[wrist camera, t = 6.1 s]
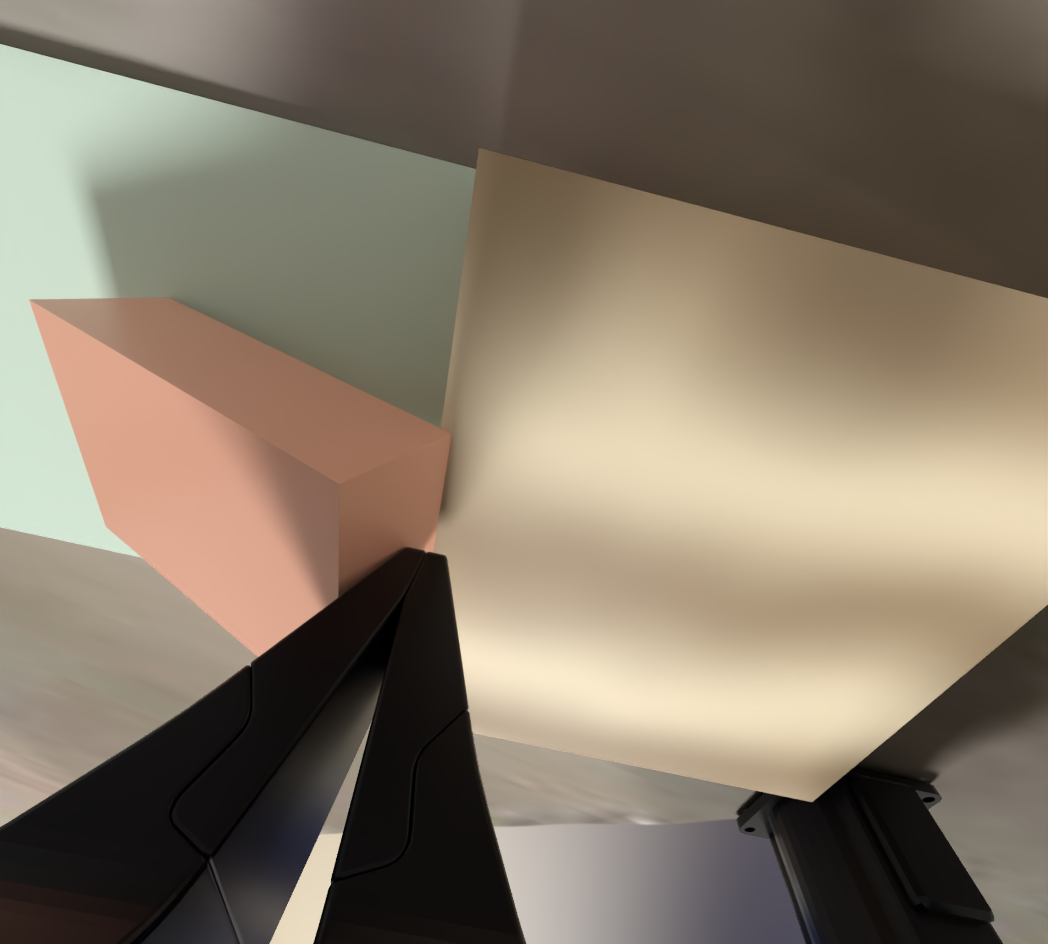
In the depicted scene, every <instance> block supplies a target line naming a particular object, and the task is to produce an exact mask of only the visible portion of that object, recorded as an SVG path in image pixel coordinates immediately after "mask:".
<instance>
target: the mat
mask: <svg viewBox="0 0 1048 944" xmlns="http://www.w3.org/2000/svg"><path fill="white" fill-rule="evenodd" d="M475 173H476V169H474V168H470V167H466V166H462V165H459V164H455V163H451V162H447V161H443V160H440V159H436V158H432V157H428V156H424V155H421V154H417V153H413V152H409V151H405V150H401V149H398V148H394V147H390V146H386V145H382V144H379V143H375V142H371V141H367V140H363V139H360V138H356V137H352V136H348V135H344V134H341V133H337V132H333V131H329V130H325V129H322V128H318V127H314V126H310V125H306V124H303V123H299V122H295V121H291V120H287V119H284V118H280V117H276V116H272V115H268V114H265V113H261V112H257V111H253V110H249V109H246V108H242V107H238V106H234V105H230V104H227V103H223V102H219V101H215V100H211V99H208V98H204V97H200V96H196V95H192V94H189V93H185V92H181V91H177V90H173V89H169V88H166V87H162V86H158V85H154V84H150V83H147V82H143V81H139V80H135V79H131V78H128V77H124V76H120V75H116V74H112V73H109V72H105V71H101V70H97V69H93V68H90V67H86V66H82V65H78V64H74V63H71V62H67V61H63V60H59V59H55V58H52V57H48V56H44V55H40V54H36V53H33V52H29V51H25V50H21V49H17V48H14V47H10V46H6V45H2V44H0V527H2V528H7V529H11V530H16V531H21V532H25V533H30V534H35V535H39V536H44V537H48V538H53V539H58V540H62V541H67V542H72V543H76V544H81V545H86V546H90V547H95V548H100V549H104V550H109V551H114V552H118V553H123V554H128V555H132V556H137V557H141V556H139V555H138V554H137V553H136V552H135V551H134V550H132V549H131V548H130V547H129V546H128V545H127V544H125V543H124V542H123V541H122V540H121V539H120V538H118V537H117V536H116V535H115V534H114V533H112V532H111V531H110V530H109V529H108V528H107V527H106V526H105V523H104V520H103V517H102V514H101V511H100V508H99V505H98V502H97V499H96V496H95V494H94V491H93V488H92V485H91V482H90V479H89V476H88V473H87V470H86V467H85V464H84V461H83V458H82V455H81V452H80V449H79V446H78V443H77V440H76V437H75V434H74V431H73V428H72V426H71V423H70V420H69V417H68V414H67V411H66V408H65V405H64V402H63V399H62V396H61V393H60V390H59V387H58V384H57V381H56V378H55V375H54V372H53V369H52V366H51V363H50V360H49V358H48V355H47V352H46V349H45V346H44V343H43V340H42V337H41V334H40V331H39V328H38V325H37V322H36V319H35V316H34V313H33V310H32V307H31V304H30V301H29V299H91V298H158V297H169V298H171V299H173V300H175V301H177V302H179V303H181V304H183V305H186V306H188V307H190V308H192V309H194V310H196V311H198V312H200V313H202V314H204V315H206V316H208V317H210V318H213V319H215V320H217V321H219V322H221V323H223V324H225V325H227V326H229V327H231V328H233V329H235V330H237V331H239V332H242V333H244V334H246V335H248V336H250V337H252V338H254V339H256V340H258V341H260V342H262V343H264V344H266V345H269V346H271V347H273V348H275V349H277V350H279V351H281V352H283V353H285V354H287V355H289V356H291V357H293V358H295V359H298V360H300V361H302V362H304V363H306V364H308V365H310V366H312V367H314V368H316V369H318V370H320V371H322V372H324V373H327V374H329V375H331V376H333V377H335V378H337V379H339V380H341V381H343V382H345V383H347V384H349V385H351V386H354V387H356V388H358V389H360V390H362V391H364V392H366V393H368V394H370V395H372V396H374V397H376V398H378V399H380V400H383V401H385V402H387V403H389V404H391V405H393V406H395V407H397V408H399V409H401V410H403V411H405V412H407V413H410V414H412V415H414V416H416V417H418V418H420V419H422V420H424V421H426V422H428V423H430V424H432V425H434V426H436V427H439V428H441V422H442V415H443V408H444V400H445V393H446V386H447V378H448V371H449V364H450V356H451V349H452V342H453V334H454V327H455V320H456V312H457V305H458V298H459V290H460V283H461V276H462V268H463V261H464V254H465V246H466V239H467V232H468V224H469V217H470V210H471V202H472V195H473V188H474V180H475ZM141 558H142V557H141Z"/></svg>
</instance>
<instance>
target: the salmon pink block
mask: <svg viewBox="0 0 1048 944" xmlns="http://www.w3.org/2000/svg"><path fill="white" fill-rule="evenodd" d="M29 301H30V304H31V307H32V310H33V313H34V316H35V319H36V322H37V325H38V328H39V331H40V334H41V337H42V340H43V343H44V346H45V349H46V352H47V355H48V358H49V360H50V363H51V366H52V369H53V372H54V375H55V378H56V381H57V384H58V387H59V390H60V393H61V396H62V399H63V402H64V405H65V408H66V411H67V414H68V417H69V420H70V423H71V426H72V428H73V431H74V434H75V437H76V440H77V443H78V446H79V449H80V452H81V455H82V458H83V461H84V464H85V467H86V470H87V473H88V476H89V479H90V482H91V485H92V488H93V491H94V494H95V496H96V499H97V502H98V505H99V508H100V511H101V514H102V517H103V520H104V523H105V526H106V527H107V528H108V529H109V530H110V531H111V532H112V533H114V534H115V535H116V536H117V537H118V538H120V539H121V540H122V541H123V542H124V543H125V544H127V545H128V546H129V547H130V548H131V549H132V550H134V551H135V552H136V553H137V554H138V555H139V556H141V557H142V558H143V559H144V560H145V561H146V562H148V563H149V564H150V565H151V566H152V567H153V568H155V569H156V570H157V571H158V572H159V573H160V574H162V575H163V576H164V577H165V578H166V579H167V580H169V581H170V582H171V583H172V584H173V585H174V586H176V587H177V588H178V589H179V590H180V591H181V592H183V593H184V594H185V595H186V596H187V597H188V598H190V599H191V600H192V601H193V602H194V603H195V604H197V605H198V606H199V607H200V608H201V609H202V610H204V611H205V612H206V613H207V614H208V615H209V616H211V617H212V618H213V619H214V620H215V621H216V622H218V623H219V624H220V625H221V626H222V627H223V628H225V629H226V630H227V631H228V632H229V633H230V634H232V635H233V636H234V637H235V638H236V639H237V640H239V641H240V642H241V643H242V644H243V645H244V646H246V647H247V648H248V649H249V650H250V651H251V652H253V653H254V654H255V655H256V656H257V657H259V656H260V655H262V654H263V653H264V652H266V651H267V650H268V649H270V648H271V647H272V646H274V645H275V644H276V643H278V642H279V641H280V640H282V639H283V638H284V637H286V636H287V635H288V634H290V633H291V632H293V631H294V630H295V629H297V628H298V627H299V626H301V625H302V624H303V623H305V622H306V621H307V620H309V619H310V618H311V617H313V616H314V615H315V614H317V613H318V612H319V611H321V610H322V609H323V608H325V607H326V606H327V605H329V604H330V603H331V602H333V601H334V600H335V599H337V598H338V597H339V596H341V595H342V594H344V593H345V592H346V591H348V590H349V589H350V588H352V587H353V586H354V585H356V584H357V583H358V582H360V581H361V580H362V579H364V578H365V577H366V576H368V575H369V574H370V573H372V572H373V571H374V570H376V569H377V568H378V567H380V566H381V565H382V564H384V563H385V562H386V561H388V560H389V559H391V558H392V557H393V556H395V555H396V554H397V553H399V552H400V551H401V550H403V549H404V548H406V547H411V548H416V549H420V550H424V551H426V553H427V552H434V545H435V539H436V532H437V525H438V519H439V512H440V506H441V499H442V493H443V486H444V480H445V473H446V467H447V460H448V454H449V447H450V441H451V433H449V432H447V431H445V430H443V429H441V428H439V427H436V426H434V425H432V424H430V423H428V422H426V421H424V420H422V419H420V418H418V417H416V416H414V415H412V414H410V413H407V412H405V411H403V410H401V409H399V408H397V407H395V406H393V405H391V404H389V403H387V402H385V401H383V400H380V399H378V398H376V397H374V396H372V395H370V394H368V393H366V392H364V391H362V390H360V389H358V388H356V387H354V386H351V385H349V384H347V383H345V382H343V381H341V380H339V379H337V378H335V377H333V376H331V375H329V374H327V373H324V372H322V371H320V370H318V369H316V368H314V367H312V366H310V365H308V364H306V363H304V362H302V361H300V360H298V359H295V358H293V357H291V356H289V355H287V354H285V353H283V352H281V351H279V350H277V349H275V348H273V347H271V346H269V345H266V344H264V343H262V342H260V341H258V340H256V339H254V338H252V337H250V336H248V335H246V334H244V333H242V332H239V331H237V330H235V329H233V328H231V327H229V326H227V325H225V324H223V323H221V322H219V321H217V320H215V319H213V318H210V317H208V316H206V315H204V314H202V313H200V312H198V311H196V310H194V309H192V308H190V307H188V306H186V305H183V304H181V303H179V302H177V301H175V300H173V299H171V298H169V297H158V298H91V299H29Z"/></svg>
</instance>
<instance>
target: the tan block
mask: <svg viewBox="0 0 1048 944" xmlns="http://www.w3.org/2000/svg"><path fill="white" fill-rule="evenodd" d="M441 429H443V430H445V431H447V432H449V433H451V441H450V447H449V454H448V460H447V467H446V473H445V480H444V486H443V493H442V499H441V506H440V512H439V519H438V525H437V532H436V539H435V545H434V553H438V554H443V555H445V556H446V557H447V560H448V567H449V574H450V581H451V587H452V594H453V601H454V608H455V615H456V622H457V629H458V636H459V643H460V650H461V657H462V664H463V671H464V678H465V685H466V692H467V699H468V706H469V709H468V711H469V712H470V718H471V725H472V732H473V733H476V734H481V735H486V736H490V737H495V738H500V739H505V740H510V741H515V742H520V743H525V744H530V745H535V746H539V747H544V748H549V749H554V750H559V751H564V752H569V753H574V754H579V755H584V756H588V757H593V758H598V759H603V760H608V761H613V762H618V763H623V764H628V765H632V766H637V767H642V768H647V769H652V770H657V771H662V772H667V773H672V774H677V775H681V776H686V777H691V778H696V779H701V780H706V781H711V782H716V783H721V784H726V785H730V786H735V787H740V788H745V789H750V790H755V791H760V792H765V793H770V794H774V795H779V796H784V797H789V798H794V799H799V800H804V801H809V802H813V801H814V800H815V799H817V798H818V797H819V796H820V795H821V794H822V793H824V792H825V791H826V790H827V789H828V788H830V787H831V786H832V785H833V784H834V783H836V782H837V781H838V780H839V779H840V778H842V777H843V776H844V775H845V774H846V773H848V772H849V771H850V770H851V769H852V768H853V767H855V766H856V765H857V764H858V763H859V762H861V761H862V760H863V759H864V758H865V757H867V756H868V755H869V754H870V753H871V752H873V751H874V750H875V749H876V748H877V747H879V746H880V745H881V744H882V743H883V742H884V741H886V740H887V739H888V738H889V737H890V736H892V735H893V734H894V733H895V732H896V731H898V730H899V729H900V728H901V727H902V726H904V725H905V724H906V723H907V722H908V721H910V720H911V719H912V718H913V717H914V716H915V715H917V714H918V713H919V712H920V711H921V710H923V709H924V708H925V707H926V706H927V705H929V704H930V703H931V702H932V701H933V700H935V699H936V698H937V697H938V696H939V695H941V694H942V693H943V692H944V691H945V690H946V689H948V688H949V687H950V686H951V685H952V684H954V683H955V682H956V681H957V680H958V679H960V678H961V677H962V676H963V675H964V674H966V673H967V672H968V671H969V670H970V669H972V668H973V667H974V666H975V665H976V664H977V663H979V662H980V661H981V660H982V659H983V658H985V657H986V656H987V655H988V654H989V653H991V652H992V651H993V650H994V649H995V648H997V647H998V646H999V645H1000V644H1001V643H1003V642H1004V641H1005V640H1006V639H1007V638H1008V637H1010V636H1011V635H1012V634H1013V633H1014V632H1016V631H1017V630H1018V629H1019V628H1020V627H1022V626H1023V625H1024V624H1025V623H1026V622H1028V621H1029V620H1030V619H1031V618H1032V617H1034V616H1035V615H1036V614H1037V613H1038V612H1039V611H1041V610H1042V609H1043V608H1044V607H1045V606H1047V605H1048V298H1044V297H1041V296H1037V295H1033V294H1029V293H1026V292H1022V291H1018V290H1014V289H1011V288H1007V287H1003V286H999V285H995V284H992V283H988V282H984V281H980V280H977V279H973V278H969V277H965V276H962V275H958V274H954V273H950V272H946V271H943V270H939V269H935V268H931V267H928V266H924V265H920V264H916V263H913V262H909V261H905V260H901V259H897V258H894V257H890V256H886V255H882V254H879V253H875V252H871V251H867V250H863V249H860V248H856V247H852V246H848V245H845V244H841V243H837V242H833V241H830V240H826V239H822V238H818V237H814V236H811V235H807V234H803V233H799V232H796V231H792V230H788V229H784V228H781V227H777V226H773V225H769V224H765V223H762V222H758V221H754V220H750V219H747V218H743V217H739V216H735V215H732V214H728V213H724V212H720V211H716V210H713V209H709V208H705V207H701V206H698V205H694V204H690V203H686V202H683V201H679V200H675V199H671V198H667V197H664V196H660V195H656V194H652V193H649V192H645V191H641V190H637V189H634V188H630V187H626V186H622V185H618V184H615V183H611V182H607V181H603V180H600V179H596V178H592V177H588V176H585V175H581V174H577V173H573V172H569V171H566V170H562V169H558V168H554V167H551V166H547V165H543V164H539V163H536V162H532V161H528V160H524V159H520V158H517V157H513V156H509V155H505V154H502V153H498V152H494V151H490V150H487V149H483V148H479V151H478V158H477V166H476V173H475V180H474V188H473V195H472V202H471V210H470V217H469V224H468V232H467V239H466V246H465V254H464V261H463V268H462V276H461V283H460V290H459V298H458V305H457V312H456V320H455V327H454V334H453V342H452V349H451V356H450V364H449V371H448V378H447V386H446V393H445V400H444V408H443V415H442V422H441Z"/></svg>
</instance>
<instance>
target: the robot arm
mask: <svg viewBox="0 0 1048 944" xmlns="http://www.w3.org/2000/svg"><path fill="white" fill-rule="evenodd" d="M468 709H469V706H468V699H467V692H466V685H465V678H464V671H463V664H462V657H461V650H460V643H459V636H458V629H457V622H456V615H455V608H454V601H453V594H452V587H451V581H450V574H449V567H448V560H447V557H446V556H445V555H443V554H438V553H434V552H427V553H426V551H424V550H420V549H416V548H411V547H406V548H404V549H403V550H401V551H400V552H399V553H397V554H396V555H395V556H393V557H392V558H391V559H389V560H388V561H386V562H385V563H384V564H382V565H381V566H380V567H378V568H377V569H376V570H374V571H373V572H372V573H370V574H369V575H368V576H366V577H365V578H364V579H362V580H361V581H360V582H358V583H357V584H356V585H354V586H353V587H352V588H350V589H349V590H348V591H346V592H345V593H344V594H342V595H341V596H339V597H338V598H337V599H335V600H334V601H333V602H331V603H330V604H329V605H327V606H326V607H325V608H323V609H322V610H321V611H319V612H318V613H317V614H315V615H314V616H313V617H311V618H310V619H309V620H307V621H306V622H305V623H303V624H302V625H301V626H299V627H298V628H297V629H295V630H294V631H293V632H291V633H290V634H288V635H287V636H286V637H284V638H283V639H282V640H280V641H279V642H278V643H276V644H275V645H274V646H272V647H271V648H270V649H268V650H267V651H266V652H264V653H263V654H262V655H260V656H259V657H258V658H256V659H255V660H254V661H252V662H251V667H250V666H248V665H247V666H245V667H244V668H242V669H241V670H240V671H238V672H237V673H236V674H234V675H233V676H232V677H230V678H229V679H228V680H226V681H225V682H224V683H222V684H221V685H219V686H218V687H217V688H215V689H214V690H212V691H211V692H210V693H208V694H207V695H205V696H204V697H203V698H201V699H200V700H198V701H197V702H196V703H194V704H193V705H191V706H190V707H189V708H187V709H186V710H184V711H183V712H181V713H180V714H178V715H177V716H175V717H174V718H172V719H170V720H169V721H167V722H166V723H164V724H163V725H161V726H160V727H158V728H157V729H155V730H154V731H152V732H151V733H149V734H148V735H146V736H144V737H143V738H141V739H140V740H138V741H137V742H135V743H134V744H132V745H130V746H129V747H127V748H126V749H124V750H122V751H121V752H119V753H118V754H116V755H115V756H113V757H111V758H110V759H108V760H107V761H105V762H103V763H102V764H100V765H99V766H97V767H95V768H94V769H92V770H91V771H89V772H88V773H86V774H84V775H83V776H81V777H80V778H78V779H76V780H75V781H73V782H72V783H70V784H68V785H67V786H65V787H64V788H62V789H61V790H59V791H57V792H56V793H54V794H53V795H51V796H49V797H48V798H46V799H45V800H43V801H41V802H40V803H38V804H37V805H35V806H34V807H32V808H30V809H29V810H27V811H26V812H24V813H22V814H21V815H19V816H18V817H16V818H14V819H13V820H11V821H10V822H8V823H6V824H5V825H3V826H1V827H0V944H269V943H270V941H271V939H272V937H273V935H274V932H275V930H276V928H277V926H278V924H279V921H280V919H281V917H282V915H283V913H284V911H285V908H286V906H287V904H288V902H289V900H290V897H291V895H292V893H293V891H294V889H295V887H296V884H297V882H298V880H299V878H300V876H301V873H302V871H303V869H304V867H305V865H306V862H307V860H308V858H309V856H310V854H311V852H312V849H313V847H314V845H315V843H316V841H317V838H318V836H319V834H320V832H321V830H322V828H323V825H324V823H325V821H326V819H327V817H328V814H329V812H330V810H331V808H332V806H333V803H334V801H335V799H336V797H337V795H338V793H339V790H340V788H341V786H342V784H343V782H344V779H345V777H346V775H347V773H348V771H349V769H350V766H351V764H352V762H353V760H354V758H355V755H356V753H357V751H358V749H359V747H360V744H361V742H362V740H363V738H364V736H365V734H366V731H367V729H368V727H369V725H370V723H371V720H372V723H371V727H370V730H369V734H368V738H367V742H366V746H365V750H364V754H363V757H362V761H361V765H360V769H359V773H358V777H357V781H356V784H355V788H354V792H353V796H352V800H351V804H350V808H349V812H348V815H347V819H346V823H345V827H344V831H343V835H342V839H341V843H340V846H339V850H338V854H337V858H336V862H335V866H334V870H333V873H332V878H331V885H330V887H329V889H328V893H327V897H326V900H325V904H324V908H323V912H322V915H321V919H320V923H319V926H318V930H317V933H316V937H315V940H314V943H313V944H526V941H525V938H524V935H523V932H522V929H521V925H520V922H519V918H518V915H517V912H516V908H515V904H514V900H513V897H512V893H511V889H510V886H509V882H508V878H507V875H506V871H505V867H504V864H503V860H502V856H501V853H500V849H499V846H498V842H497V838H496V835H495V831H494V827H493V824H492V820H491V816H490V813H489V809H488V805H487V800H486V796H485V792H484V788H483V784H482V779H481V775H480V771H479V766H478V760H477V755H476V749H475V744H474V738H473V732H472V725H471V718H470V712H469V711H468ZM372 718H373V719H372ZM941 799H942V797H941V796H940V794H939V793H938V791H937V790H936V788H935V787H934V786H933V785H931V784H927V783H922V782H917V781H912V780H908V779H903V778H898V777H893V776H889V775H884V774H879V773H874V772H869V771H865V770H860V769H855V768H852V769H851V770H850V771H849V772H848V773H846V774H845V775H844V776H843V777H842V778H840V779H839V780H838V781H837V782H836V783H834V784H833V785H832V786H831V787H830V788H828V789H827V790H826V791H825V792H824V793H822V794H821V795H820V796H819V797H818V798H817V799H815V800H814V801H813V802H809V801H804V800H799V799H794V798H789V797H784V796H779V795H774V794H770V793H765V792H764V793H763V794H762V795H761V796H760V797H759V798H758V799H757V800H756V801H755V802H754V803H753V804H752V805H751V806H750V807H749V808H748V809H747V810H746V811H745V812H744V813H742V814H741V815H740V816H739V817H738V818H737V823H738V827H739V830H740V832H741V833H744V834H748V835H753V836H758V837H763V838H768V839H770V842H771V845H772V847H773V850H774V853H775V856H776V859H777V862H778V865H779V868H780V871H781V873H782V876H783V879H784V882H785V885H786V888H787V891H788V894H789V897H790V899H791V903H792V906H793V908H794V911H795V914H796V917H797V920H798V923H799V926H800V929H801V932H802V935H803V938H804V940H805V943H806V944H1003V943H1002V941H1001V940H1000V938H999V936H998V935H997V933H996V932H995V930H994V928H993V927H992V925H991V924H990V922H993V921H994V915H993V913H992V911H991V908H990V907H989V905H988V904H987V902H986V901H985V899H984V897H983V896H982V894H981V893H980V891H979V890H978V888H977V886H976V885H975V883H974V882H973V880H972V878H971V877H970V875H969V874H968V872H967V871H966V869H965V867H964V866H963V864H962V863H961V861H960V860H959V858H958V856H957V855H956V853H955V852H954V850H953V849H952V847H951V845H950V844H949V842H948V841H947V839H946V838H945V836H944V834H943V833H942V831H941V830H940V828H939V827H938V825H937V823H936V822H935V820H934V819H933V817H932V816H931V814H930V812H929V811H928V809H929V808H931V807H932V806H934V805H935V804H937V803H938V802H940V801H941Z"/></svg>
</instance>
